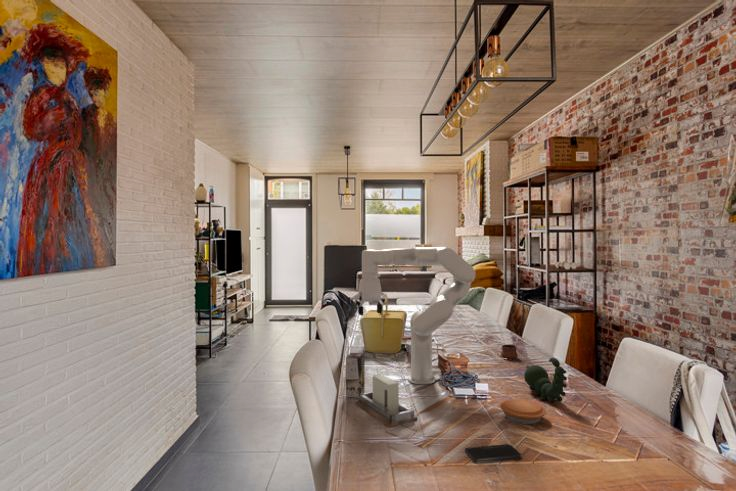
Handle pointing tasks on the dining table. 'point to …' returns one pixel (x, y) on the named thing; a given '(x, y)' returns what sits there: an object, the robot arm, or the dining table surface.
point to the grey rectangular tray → (385, 411)
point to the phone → (493, 453)
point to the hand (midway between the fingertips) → (370, 314)
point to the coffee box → (355, 374)
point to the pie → (522, 411)
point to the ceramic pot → (509, 351)
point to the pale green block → (386, 393)
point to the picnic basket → (383, 330)
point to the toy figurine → (546, 381)
